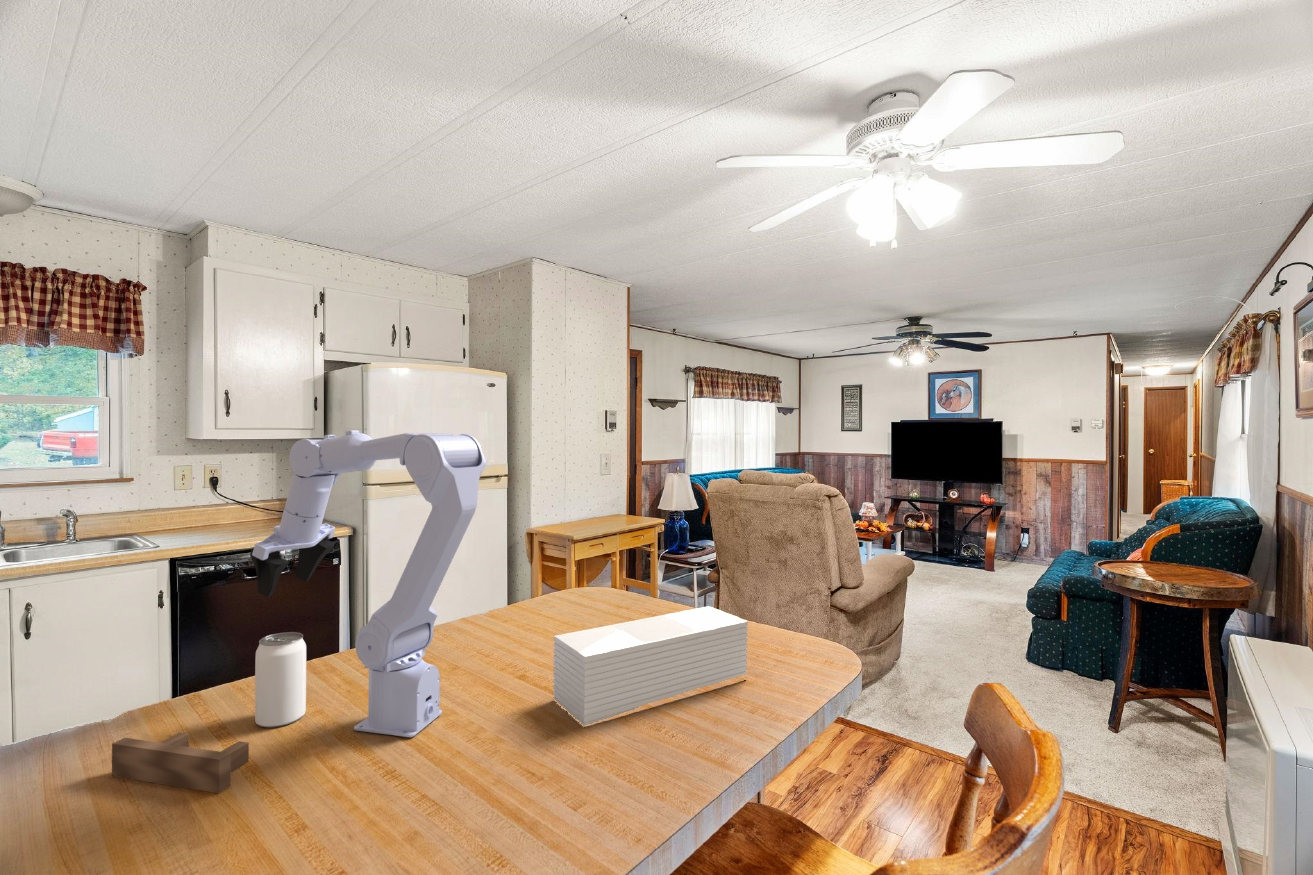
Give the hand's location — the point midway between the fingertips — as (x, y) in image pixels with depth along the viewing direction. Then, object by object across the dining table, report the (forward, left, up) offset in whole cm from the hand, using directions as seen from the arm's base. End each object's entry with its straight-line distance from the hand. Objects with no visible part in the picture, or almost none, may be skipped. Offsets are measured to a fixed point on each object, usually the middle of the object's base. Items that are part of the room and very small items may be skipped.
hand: (283, 586), depth 100 cm
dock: (-7, +22, -17) cm, 29 cm away
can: (-7, +8, -18) cm, 20 cm away
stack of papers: (-59, -15, -18) cm, 63 cm away
